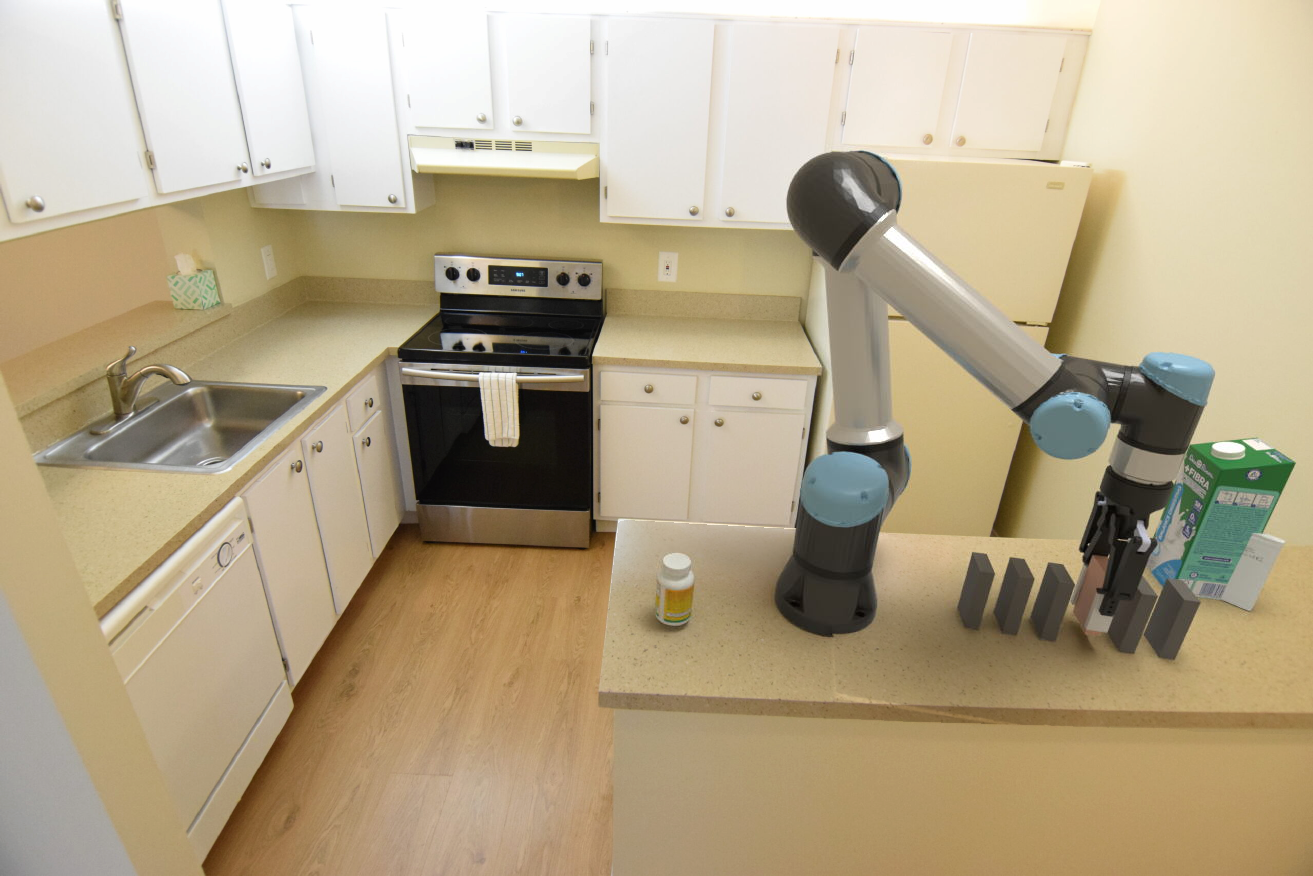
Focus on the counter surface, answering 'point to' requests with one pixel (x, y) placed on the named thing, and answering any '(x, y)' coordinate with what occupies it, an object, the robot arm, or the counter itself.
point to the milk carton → (1217, 512)
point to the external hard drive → (1252, 570)
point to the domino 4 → (1090, 590)
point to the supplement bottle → (674, 590)
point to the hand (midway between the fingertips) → (1088, 616)
